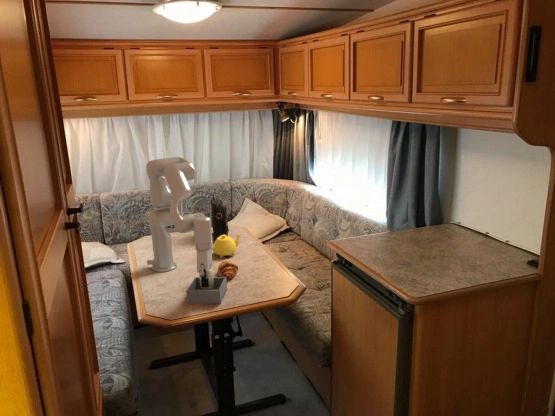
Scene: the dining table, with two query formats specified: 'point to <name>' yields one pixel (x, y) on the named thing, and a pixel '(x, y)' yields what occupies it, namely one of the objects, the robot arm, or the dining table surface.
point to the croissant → (227, 269)
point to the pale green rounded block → (210, 278)
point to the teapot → (225, 245)
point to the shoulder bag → (219, 217)
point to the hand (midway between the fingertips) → (207, 283)
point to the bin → (207, 291)
